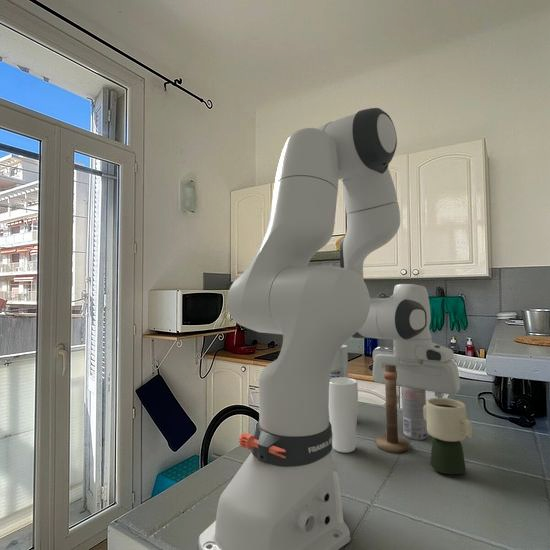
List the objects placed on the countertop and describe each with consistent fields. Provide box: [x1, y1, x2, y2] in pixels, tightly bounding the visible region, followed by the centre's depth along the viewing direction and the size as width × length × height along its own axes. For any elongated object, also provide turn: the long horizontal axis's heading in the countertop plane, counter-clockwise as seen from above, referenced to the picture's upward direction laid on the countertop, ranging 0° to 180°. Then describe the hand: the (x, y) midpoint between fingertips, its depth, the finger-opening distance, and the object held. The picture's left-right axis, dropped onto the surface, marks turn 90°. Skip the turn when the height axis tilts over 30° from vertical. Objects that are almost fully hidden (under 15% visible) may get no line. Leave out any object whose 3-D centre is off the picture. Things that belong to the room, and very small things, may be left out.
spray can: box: [329, 344, 349, 421], centre depth 98 cm, size 6×6×20 cm
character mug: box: [423, 397, 473, 475], centre depth 69 cm, size 11×7×13 cm, turn 24°
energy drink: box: [401, 386, 428, 441], centre depth 85 cm, size 5×5×12 cm
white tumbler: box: [329, 377, 359, 454], centre depth 79 cm, size 7×7×15 cm
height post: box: [375, 365, 410, 454], centre depth 80 cm, size 7×7×18 cm
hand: (414, 406), depth 85 cm, fingers open, 8 cm apart
